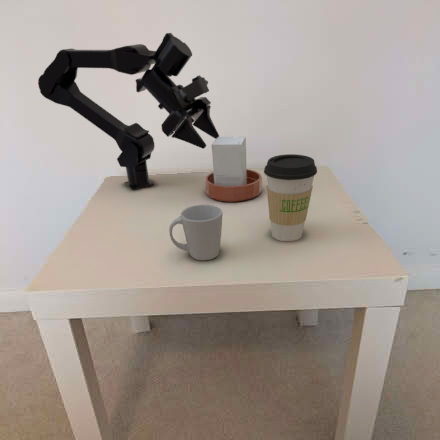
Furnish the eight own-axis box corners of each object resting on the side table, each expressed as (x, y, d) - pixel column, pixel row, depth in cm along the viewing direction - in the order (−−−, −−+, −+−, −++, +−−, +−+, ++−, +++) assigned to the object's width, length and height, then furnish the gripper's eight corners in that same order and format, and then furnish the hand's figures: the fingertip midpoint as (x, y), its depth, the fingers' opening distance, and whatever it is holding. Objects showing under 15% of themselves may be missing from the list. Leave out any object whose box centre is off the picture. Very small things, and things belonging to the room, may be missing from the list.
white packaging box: (247, 186, 105) (247, 136, 98) (242, 196, 99) (242, 144, 92) (220, 185, 106) (217, 136, 99) (213, 195, 100) (211, 143, 93)
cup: (228, 260, 74) (226, 218, 69) (174, 268, 73) (169, 225, 68) (220, 242, 80) (218, 202, 75) (170, 248, 79) (165, 208, 74)
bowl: (196, 190, 105) (195, 175, 103) (242, 179, 111) (241, 165, 109) (224, 207, 95) (223, 191, 93) (272, 194, 101) (273, 178, 98)
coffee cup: (306, 248, 77) (313, 170, 68) (257, 242, 80) (257, 167, 71) (314, 227, 84) (321, 154, 76) (269, 222, 87) (271, 152, 79)
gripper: (167, 69, 82) (220, 127, 85) (200, 60, 97) (244, 110, 100) (140, 109, 89) (189, 161, 92) (174, 95, 103) (216, 141, 106)
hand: (211, 142), depth 97 cm, fingers open, 9 cm apart
